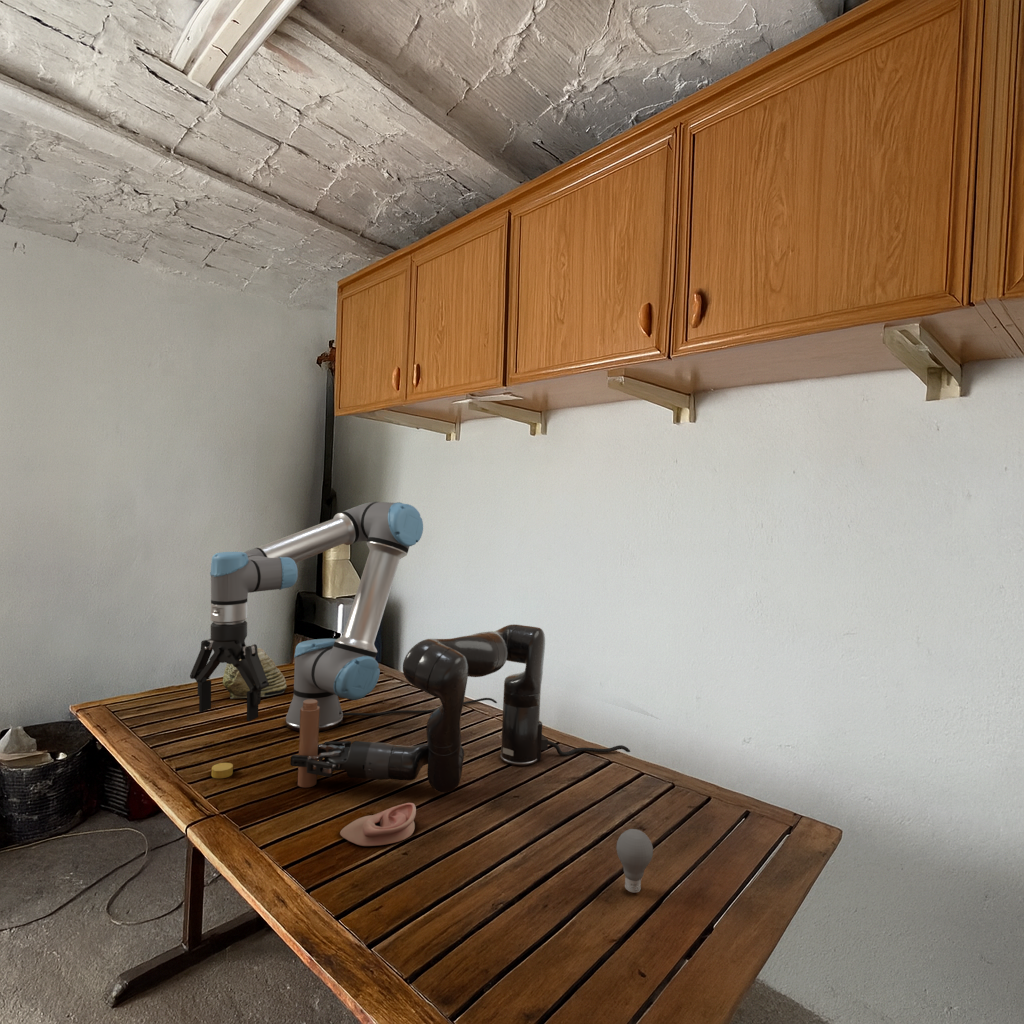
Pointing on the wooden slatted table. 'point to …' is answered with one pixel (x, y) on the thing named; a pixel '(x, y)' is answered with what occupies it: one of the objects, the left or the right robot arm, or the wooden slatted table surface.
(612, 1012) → the wooden slatted table surface
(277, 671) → the fossil
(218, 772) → the lid
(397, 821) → the anatomical model
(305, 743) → the brown long cylinder
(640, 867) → the light bulb
